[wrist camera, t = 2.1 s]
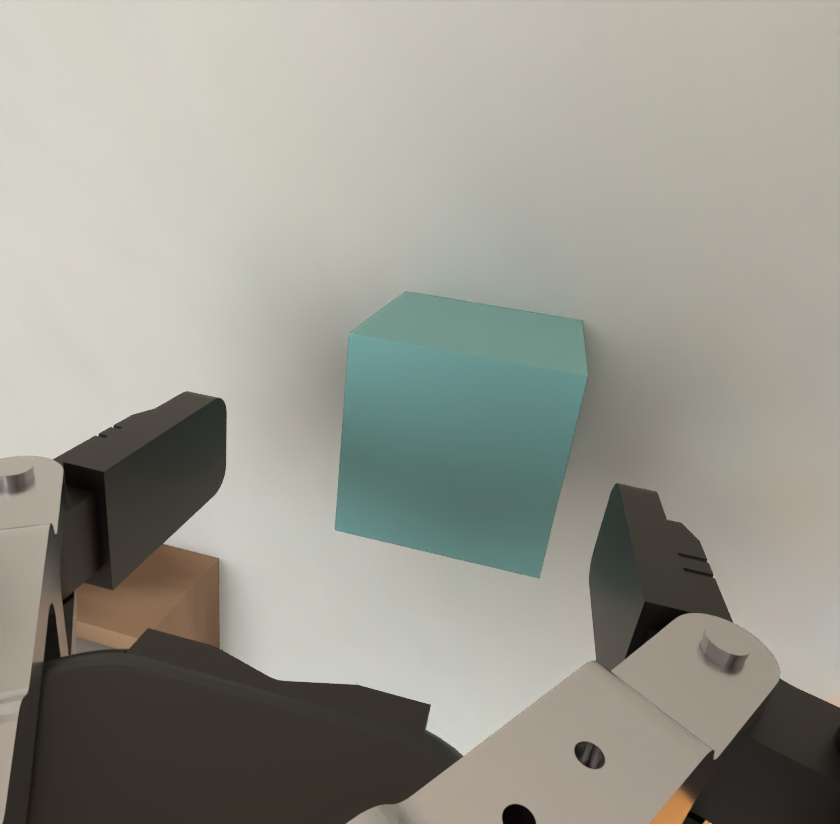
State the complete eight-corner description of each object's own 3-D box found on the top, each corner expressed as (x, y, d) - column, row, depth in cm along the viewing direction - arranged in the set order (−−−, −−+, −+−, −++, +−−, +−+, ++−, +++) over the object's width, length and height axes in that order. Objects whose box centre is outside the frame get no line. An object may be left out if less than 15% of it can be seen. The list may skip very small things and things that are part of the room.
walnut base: (220, 556, 23) (144, 640, 19) (221, 691, 25) (155, 791, 21) (58, 514, 24) (-48, 585, 20) (76, 648, 26) (-14, 735, 22)
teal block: (582, 320, 16) (588, 375, 12) (545, 478, 18) (539, 578, 14) (406, 290, 17) (349, 332, 13) (389, 446, 19) (334, 530, 15)
